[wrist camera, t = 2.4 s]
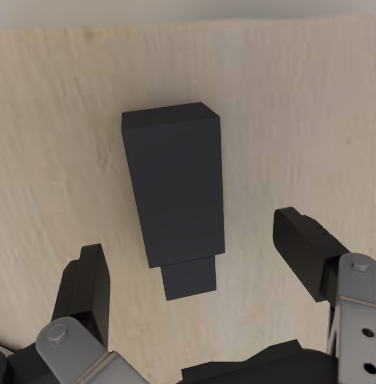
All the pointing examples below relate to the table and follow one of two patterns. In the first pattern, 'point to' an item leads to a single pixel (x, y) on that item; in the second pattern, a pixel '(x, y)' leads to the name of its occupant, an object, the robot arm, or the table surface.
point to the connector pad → (178, 192)
